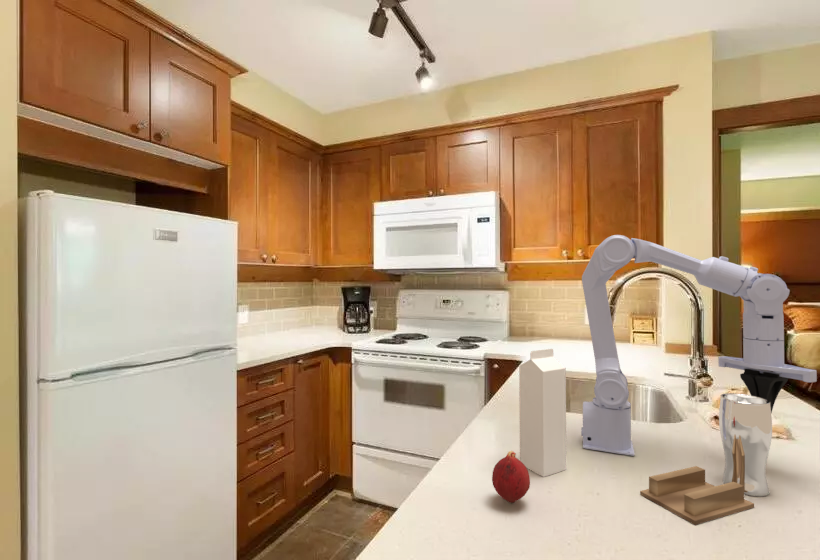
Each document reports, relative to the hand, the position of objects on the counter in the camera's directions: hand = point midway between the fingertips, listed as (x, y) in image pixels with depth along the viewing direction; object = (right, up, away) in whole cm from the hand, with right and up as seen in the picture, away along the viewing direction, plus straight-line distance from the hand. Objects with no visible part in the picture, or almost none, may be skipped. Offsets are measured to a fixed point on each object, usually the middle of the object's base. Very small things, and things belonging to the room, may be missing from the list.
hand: (763, 413), depth 76 cm
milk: (-40, -11, +2) cm, 42 cm away
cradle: (-20, -11, -10) cm, 25 cm away
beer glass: (-9, -11, -6) cm, 15 cm away
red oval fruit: (-49, -11, -11) cm, 51 cm away
